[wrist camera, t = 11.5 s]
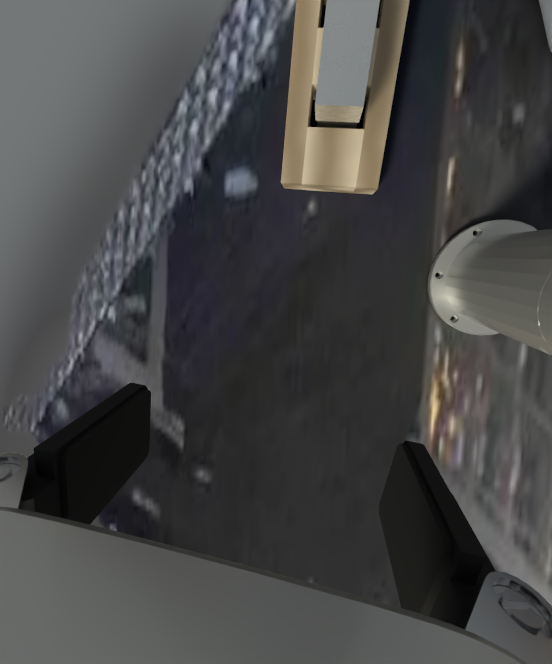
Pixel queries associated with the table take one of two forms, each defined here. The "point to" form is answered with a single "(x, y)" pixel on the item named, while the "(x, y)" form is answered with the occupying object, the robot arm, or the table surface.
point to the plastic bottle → (547, 19)
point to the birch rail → (339, 143)
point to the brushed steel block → (345, 62)
